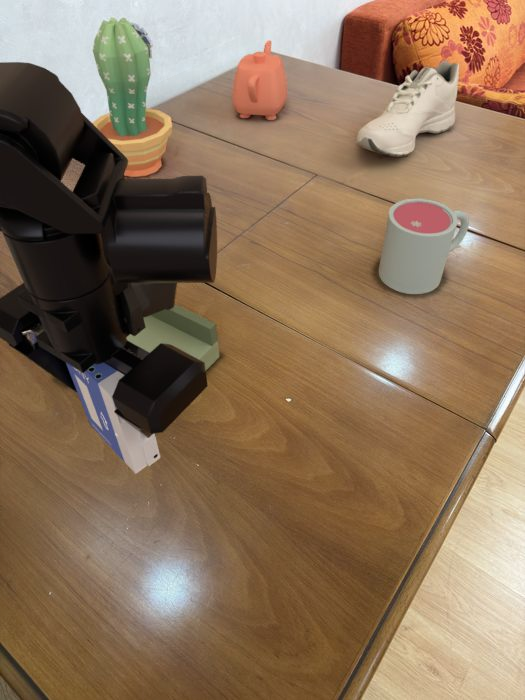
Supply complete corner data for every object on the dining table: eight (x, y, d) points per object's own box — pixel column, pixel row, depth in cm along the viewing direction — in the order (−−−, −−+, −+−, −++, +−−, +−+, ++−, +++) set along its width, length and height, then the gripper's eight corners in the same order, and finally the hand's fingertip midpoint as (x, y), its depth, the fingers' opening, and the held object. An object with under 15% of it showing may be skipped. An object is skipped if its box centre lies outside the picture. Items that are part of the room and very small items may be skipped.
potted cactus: (189, 173, 102) (171, 26, 84) (110, 193, 98) (73, 42, 80) (163, 140, 112) (142, 2, 94) (90, 157, 107) (52, 15, 89)
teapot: (279, 131, 114) (279, 71, 105) (225, 127, 116) (221, 67, 107) (293, 93, 127) (295, 37, 119) (245, 90, 129) (242, 35, 120)
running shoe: (337, 159, 105) (343, 90, 96) (414, 108, 121) (426, 44, 111) (386, 177, 100) (398, 106, 90) (460, 122, 115) (477, 56, 106)
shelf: (147, 431, 62) (137, 399, 57) (58, 377, 68) (43, 344, 63) (219, 356, 70) (216, 323, 65) (135, 313, 76) (126, 280, 71)
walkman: (89, 425, 53) (56, 341, 44) (113, 409, 54) (86, 324, 45) (136, 476, 49) (111, 396, 40) (161, 458, 50) (141, 376, 41)
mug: (402, 301, 76) (415, 243, 69) (366, 265, 82) (375, 208, 75) (478, 274, 80) (498, 216, 73) (439, 241, 86) (454, 185, 79)
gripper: (247, 260, 37) (252, 398, 49) (66, 184, 45) (107, 319, 56) (136, 358, 31) (171, 489, 43) (-53, 250, 39) (20, 387, 50)
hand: (115, 410), depth 48 cm, fingers closed on walkman, 8 cm apart
